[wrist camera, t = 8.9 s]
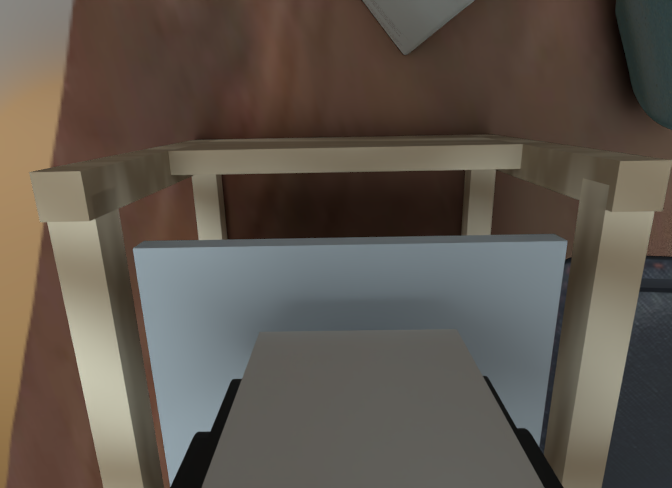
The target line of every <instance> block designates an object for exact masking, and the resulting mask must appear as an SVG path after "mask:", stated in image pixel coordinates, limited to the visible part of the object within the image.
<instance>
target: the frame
mask: <svg viewBox="0 0 672 488" xmlns="http://www.w3.org/2000/svg"><path fill="white" fill-rule="evenodd" d="M671 165H672V160H667V159H660V158H653V157H646V156H640V155H633V154H626V153H619V152H612V151H605V150H598V149H591V148H584V147H577V146H570V145H563V144H556V143H549V142H542V141H535V140H528V139H521V138H514V137H508V136H501V135H494V134H477V135H424V136H372V137H319V138H267V139H214V140H191V141H186V142H181V143H176V144H171V145H166V146H160V147H155V148H150V149H145V150H140V151H135V152H130V153H125V154H120V155H114V156H109V157H104V158H99V159H94V160H89V161H84V162H79V163H74V164H68V165H63V166H58V167H53V168H48V169H43V170H38V171H33V172H30V178H31V182H32V187H33V192H34V196H35V201H36V206H37V210H38V215H39V220H40V222H47V223H48V228H49V233H50V237H51V242H52V247H53V251H54V256H55V261H56V266H57V270H58V275H59V280H60V284H61V289H62V294H63V299H64V303H65V308H66V313H67V317H68V322H69V327H70V332H71V336H72V341H73V346H74V350H75V355H76V360H77V365H78V369H79V374H80V379H81V383H82V388H83V393H84V398H85V402H86V407H87V412H88V416H89V421H90V426H91V431H92V435H93V440H94V445H95V449H96V454H97V459H98V464H99V468H100V473H101V478H102V482H103V487H104V488H164V485H163V479H162V473H161V467H160V461H159V455H158V449H157V442H156V436H155V430H154V424H153V418H152V412H151V406H150V399H149V393H148V387H147V381H146V375H145V369H144V363H143V357H142V350H141V344H140V338H139V332H138V326H137V320H136V314H135V307H134V301H133V295H132V289H131V283H130V277H129V271H128V265H127V258H126V252H125V246H124V240H123V234H122V228H121V222H120V215H119V208H121V207H123V206H125V205H128V204H130V203H132V202H135V201H137V200H139V199H141V198H144V197H146V196H148V195H150V194H153V193H155V192H157V191H159V190H162V189H164V188H166V187H168V186H171V185H173V184H175V183H177V182H180V181H182V180H184V179H187V178H189V177H191V176H192V184H193V193H194V202H195V210H196V219H197V228H198V237H199V240H227V229H226V218H225V208H224V197H223V186H222V175H221V174H266V173H321V172H375V171H429V170H465V182H464V198H463V213H462V229H461V236H464V235H490V234H491V222H492V210H493V198H494V187H495V175H496V170H498V171H500V172H503V173H506V174H509V175H511V176H514V177H517V178H520V179H522V180H525V181H528V182H531V183H533V184H536V185H539V186H542V187H544V188H547V189H550V190H553V191H555V192H558V193H561V194H564V195H566V196H569V197H572V198H575V199H577V200H580V202H579V209H578V216H577V223H576V230H575V237H574V244H573V251H572V258H571V265H570V272H569V279H568V287H567V294H566V301H565V308H564V315H563V322H562V329H561V336H560V343H559V350H558V357H557V364H556V371H555V378H554V385H553V392H552V400H551V407H550V414H549V421H548V428H547V435H546V442H545V449H544V456H545V458H546V459H547V461H548V463H549V464H550V466H551V468H552V469H553V471H554V473H555V474H556V476H557V478H558V479H559V481H560V483H561V484H562V486H563V487H564V488H601V487H602V482H603V477H604V472H605V466H606V461H607V456H608V451H609V446H610V440H611V435H612V430H613V425H614V420H615V414H616V409H617V404H618V399H619V394H620V388H621V383H622V378H623V373H624V368H625V362H626V357H627V352H628V347H629V342H630V336H631V331H632V326H633V321H634V316H635V310H636V305H637V300H638V295H639V289H640V284H641V279H642V274H643V269H644V263H645V258H646V253H647V248H648V243H649V237H650V232H651V227H652V222H653V217H654V211H663V206H664V201H665V196H666V191H667V186H668V180H669V175H670V170H671Z"/></svg>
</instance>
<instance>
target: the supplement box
mask: <svg viewBox="0 0 672 488" xmlns="http://www.w3.org/2000/svg"><path fill="white" fill-rule="evenodd" d="M362 1H363V2H364V3H365V5H366V6H367V7H368V9H369V10H370V11H371V13H372V14H373V15H374V17H375V18H376V19H377V21H378V22H379V23H380V25H381V26H382V27H383V29H384V30H385V31H386V33H387V34H388V35H389V36H390V38H391V39H392V40H393V42H394V43H395V44H396V46H397V47H398V48H399V49H400V51H401V52H402V53H403V54H404V55H407V54H409V53H410V52H411V51H413V50H414V49H415V48H416V47H418V46H419V45H420V44H421V43H422V42H424V41H425V40H426V39H427V38H429V37H430V36H431V35H432V34H433V33H435V32H436V31H437V30H438V29H440V28H441V27H442V26H443V25H445V24H446V23H447V22H448V21H449V20H451V19H452V18H453V17H454V16H456V15H457V14H458V13H459V12H461V11H462V10H463V9H464V8H466V7H467V6H468V5H470V4H471V3H472V2H473V1H475V0H362Z"/></svg>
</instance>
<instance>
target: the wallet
mask: <svg viewBox="0 0 672 488" xmlns="http://www.w3.org/2000/svg"><path fill="white" fill-rule="evenodd" d="M570 265H571V258H569V259H566V260H565V263H564V270H563V277H562V285H561V292H560V299H559V307H558V314H557V321H556V328H555V336H554V343H553V350H552V358H551V365H550V372H549V380H548V387H547V394H546V401H545V409H544V416H543V423H542V431H541V438H540V445H539V448H540V449H541V451H542V453H543V454H544V449H545V442H546V435H547V428H548V421H549V414H550V407H551V400H552V392H553V385H554V378H555V371H556V364H557V357H558V350H559V343H560V336H561V329H562V322H563V315H564V308H565V301H566V294H567V287H568V279H569V272H570ZM601 488H672V257H665V256H646V258H645V263H644V269H643V274H642V279H641V284H640V289H639V295H638V300H637V305H636V310H635V316H634V321H633V326H632V331H631V336H630V342H629V347H628V352H627V357H626V362H625V368H624V373H623V378H622V383H621V388H620V394H619V399H618V404H617V409H616V414H615V420H614V425H613V430H612V435H611V440H610V446H609V451H608V456H607V461H606V466H605V472H604V477H603V482H602V487H601Z"/></svg>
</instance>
